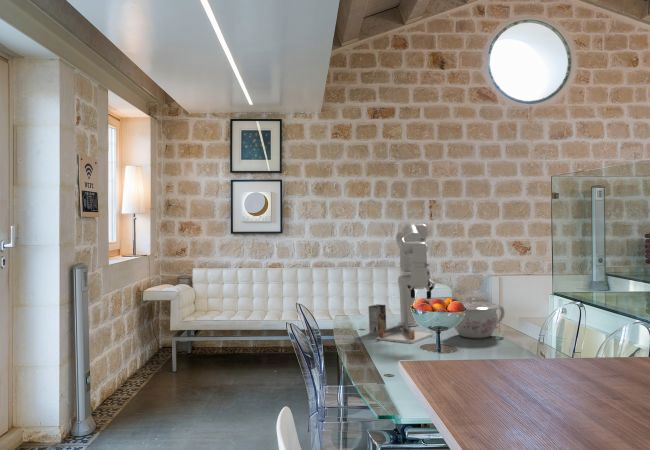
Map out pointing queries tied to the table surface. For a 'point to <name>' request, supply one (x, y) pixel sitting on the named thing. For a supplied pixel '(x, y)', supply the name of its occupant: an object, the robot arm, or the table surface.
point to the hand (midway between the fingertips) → (420, 298)
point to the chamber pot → (479, 319)
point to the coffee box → (377, 318)
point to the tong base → (391, 330)
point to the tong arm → (409, 332)
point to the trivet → (406, 337)
